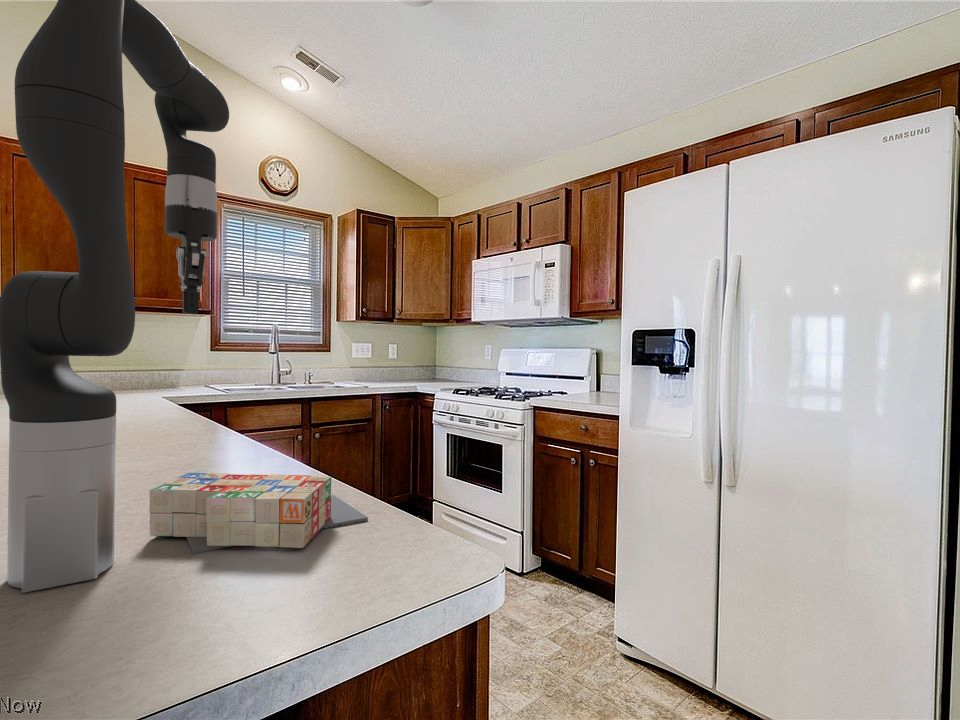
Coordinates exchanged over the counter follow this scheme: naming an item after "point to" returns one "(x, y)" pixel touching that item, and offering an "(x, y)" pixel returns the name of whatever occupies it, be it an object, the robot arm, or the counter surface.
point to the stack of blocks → (242, 508)
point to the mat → (339, 516)
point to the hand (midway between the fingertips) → (190, 313)
